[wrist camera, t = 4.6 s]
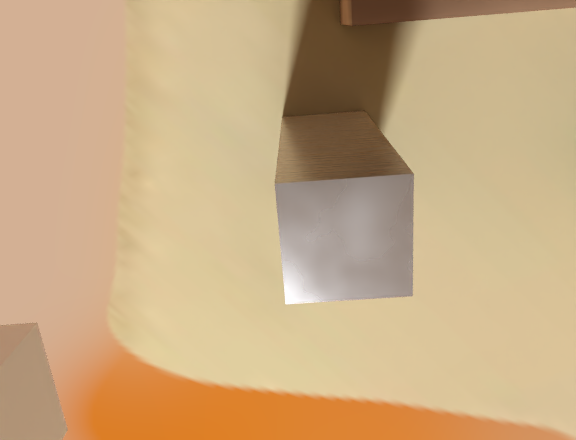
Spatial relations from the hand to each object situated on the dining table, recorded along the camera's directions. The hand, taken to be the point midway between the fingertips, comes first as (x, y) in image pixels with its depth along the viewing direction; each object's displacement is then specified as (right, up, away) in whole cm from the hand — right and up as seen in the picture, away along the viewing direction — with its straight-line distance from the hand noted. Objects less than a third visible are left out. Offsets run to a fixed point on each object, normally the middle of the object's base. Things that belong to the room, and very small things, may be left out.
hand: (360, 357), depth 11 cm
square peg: (0, +6, +15) cm, 16 cm away
